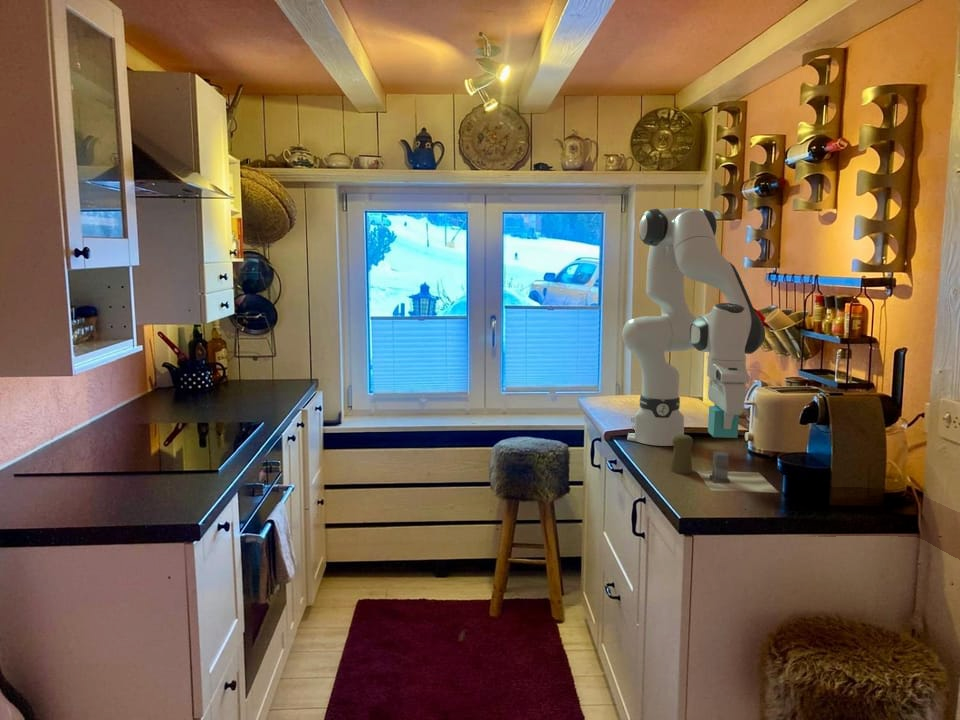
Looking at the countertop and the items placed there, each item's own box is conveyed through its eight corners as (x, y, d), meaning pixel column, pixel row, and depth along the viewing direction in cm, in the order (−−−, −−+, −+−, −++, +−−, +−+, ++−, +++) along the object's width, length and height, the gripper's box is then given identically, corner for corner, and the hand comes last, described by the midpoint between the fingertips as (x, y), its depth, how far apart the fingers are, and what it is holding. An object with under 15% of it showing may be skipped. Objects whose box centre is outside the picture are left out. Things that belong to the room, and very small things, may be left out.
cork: (674, 471, 196) (676, 431, 194) (696, 475, 192) (698, 435, 191) (665, 476, 191) (667, 435, 190) (686, 481, 188) (689, 439, 186)
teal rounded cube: (707, 431, 185) (709, 405, 184) (731, 432, 184) (732, 406, 183) (713, 437, 179) (714, 410, 178) (737, 437, 178) (739, 411, 177)
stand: (696, 476, 192) (697, 444, 190) (758, 478, 191) (760, 446, 189) (710, 496, 176) (712, 462, 175) (778, 498, 175) (781, 464, 174)
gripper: (703, 363, 190) (700, 415, 192) (723, 376, 169) (720, 434, 171) (728, 364, 189) (725, 416, 191) (751, 377, 169) (747, 435, 171)
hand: (722, 425), depth 181 cm, fingers closed on teal rounded cube, 6 cm apart
